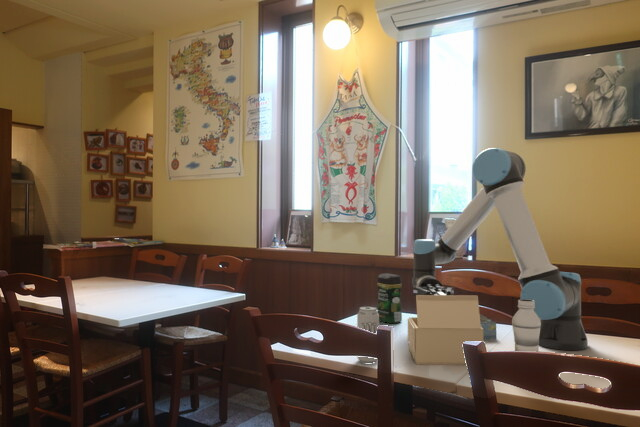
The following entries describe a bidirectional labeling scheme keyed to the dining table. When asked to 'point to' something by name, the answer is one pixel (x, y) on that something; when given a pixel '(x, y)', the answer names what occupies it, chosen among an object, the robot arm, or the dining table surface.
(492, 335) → the beverage carton
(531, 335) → the plastic bottle
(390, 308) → the coffee jar
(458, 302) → the long flap
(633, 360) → the dining table surface
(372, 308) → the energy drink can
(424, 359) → the kraft box
